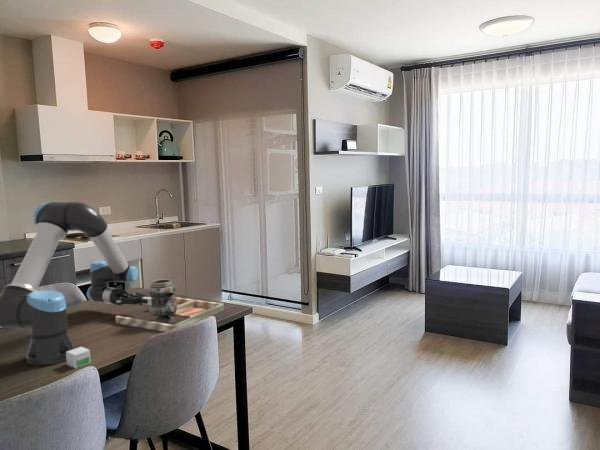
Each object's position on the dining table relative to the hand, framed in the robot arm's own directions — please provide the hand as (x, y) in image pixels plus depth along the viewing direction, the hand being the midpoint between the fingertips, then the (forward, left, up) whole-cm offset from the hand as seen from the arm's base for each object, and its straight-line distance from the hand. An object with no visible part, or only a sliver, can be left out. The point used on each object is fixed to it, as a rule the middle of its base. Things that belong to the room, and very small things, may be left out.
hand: (154, 301), depth 205 cm
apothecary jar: (+3, -5, -8) cm, 10 cm away
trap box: (+7, +1, -8) cm, 11 cm away
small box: (-27, -41, -8) cm, 50 cm away
